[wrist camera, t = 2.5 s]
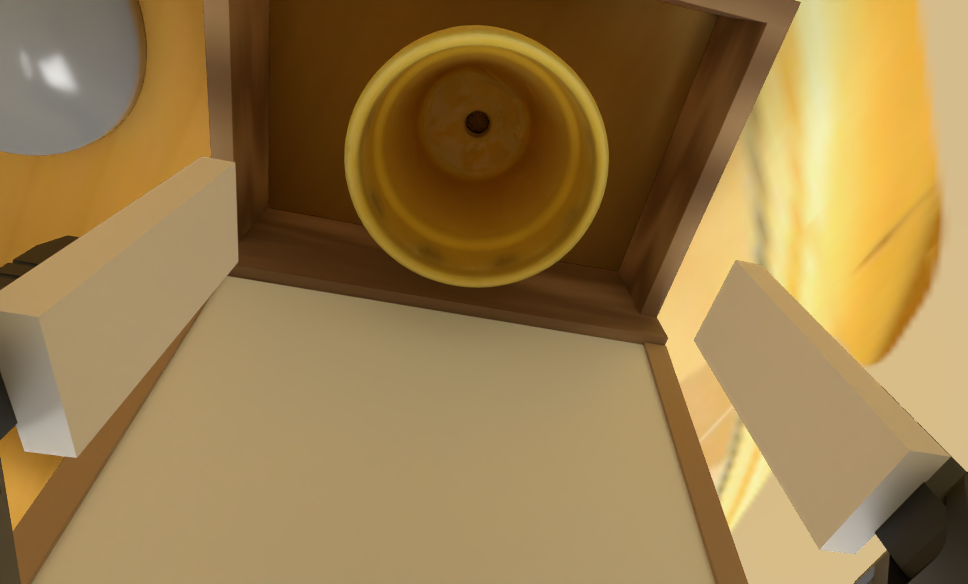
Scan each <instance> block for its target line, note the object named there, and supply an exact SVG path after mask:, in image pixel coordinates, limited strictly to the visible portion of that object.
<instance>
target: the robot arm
mask: <svg viewBox="0 0 968 584" xmlns="http://www.w3.org/2000/svg"><path fill="white" fill-rule="evenodd" d="M237 263H238V231H237V200H236V169H235V162H230V161H225V160H220V159H215V158H210V157H204V156H201V157H200V158H198V159H197V160H195V161H194V162H192V163H191V164H189V165H188V166H186V167H185V168H183V169H182V170H180V171H179V172H177V173H176V174H174V175H173V176H171V177H170V178H168V179H167V180H165V181H164V182H162V183H161V184H159V185H158V186H156V187H155V188H153V189H152V190H150V191H149V192H147V193H146V194H144V195H143V196H141V197H140V198H138V199H137V200H135V201H134V202H132V203H131V204H129V205H128V206H126V207H125V208H123V209H122V210H120V211H119V212H117V213H116V214H114V215H113V216H111V217H110V218H108V219H107V220H105V221H104V222H102V223H101V224H99V225H98V226H96V227H95V228H93V229H92V230H90V231H89V232H87V233H86V234H84V235H83V236H81V237H80V238H79V237H73V236H65V237H62V238H58V239H55V240H52V241H49V242H46V243H43V244H40V245H37V246H35V247H33V248H32V249H30V250H28V251H27V252H25V253H24V254H22V255H20V256H19V257H17V258H15V259H14V260H13V263H7V264H6V265H4V266H2V267H1V268H0V440H1V439H2V438H3V437H4V436H5V435H6V434H7V433H8V432H9V431H10V430H11V429H12V428H13V427H14V426H15V425H16V428H17V431H18V434H19V437H20V440H21V442H22V445H23V448H24V451H25V452H33V453H41V454H49V455H57V456H65V457H73V458H77V457H78V456H79V455H80V454H81V452H82V451H83V450H84V449H85V448H86V446H87V445H88V444H89V443H90V441H91V440H92V439H93V438H94V437H95V435H96V434H97V433H98V432H99V431H100V429H101V428H102V427H103V426H104V424H105V423H106V422H107V421H108V420H109V418H110V417H111V416H112V415H113V414H114V412H115V411H116V410H117V409H118V407H119V406H120V405H121V404H122V403H123V401H124V400H125V399H126V398H127V397H128V395H129V394H130V393H131V392H132V390H133V389H134V388H135V387H136V386H137V384H138V383H139V382H140V381H141V379H142V378H143V377H144V376H145V375H146V373H147V372H148V371H149V370H150V369H151V367H152V366H153V365H154V364H155V362H156V361H157V360H158V359H159V358H160V356H161V355H162V354H163V353H164V352H165V350H166V349H167V348H168V347H169V345H170V344H171V343H172V342H173V341H174V339H175V338H176V337H177V336H178V335H179V333H180V332H181V331H182V330H183V328H184V327H185V326H186V325H187V324H188V322H189V321H190V320H191V319H192V318H193V316H194V315H195V314H196V313H197V311H198V310H199V309H200V308H201V307H202V305H203V304H204V303H205V302H206V301H207V299H208V298H209V297H210V296H211V294H212V293H213V292H214V291H215V290H216V288H217V287H218V286H219V285H220V283H221V282H222V281H223V280H224V279H225V277H226V276H227V275H228V274H229V273H230V271H231V270H232V269H233V268H234V266H235V265H236V264H237ZM694 342H695V343H696V345H697V347H698V348H699V350H700V351H701V353H702V355H703V356H704V358H705V360H706V361H707V363H708V365H709V366H710V368H711V370H712V371H713V373H714V375H715V376H716V378H717V380H718V381H719V383H720V385H721V386H722V388H723V390H724V391H725V393H726V395H727V396H728V398H729V400H730V401H731V403H732V405H733V406H734V408H735V410H736V411H737V413H738V415H739V416H740V418H741V420H742V421H743V423H744V425H745V426H746V428H747V430H748V431H749V433H750V435H751V436H752V438H753V440H754V441H755V443H756V445H757V446H758V448H759V450H760V451H761V453H762V455H763V456H764V458H765V460H766V461H767V463H768V465H769V466H770V468H771V470H772V471H773V473H774V475H775V476H776V478H777V480H778V481H779V483H780V485H781V486H782V488H783V490H784V491H785V493H786V495H787V496H788V498H789V500H790V501H791V503H792V505H793V506H794V508H795V510H796V511H797V513H798V515H799V516H800V518H801V520H802V521H803V523H804V525H805V526H806V528H807V530H808V531H809V533H810V535H811V536H812V538H813V540H814V541H815V543H816V545H817V546H818V548H819V550H826V551H834V552H843V553H850V554H856V553H857V552H858V551H859V550H860V549H861V548H862V547H863V546H864V545H865V544H866V543H867V542H868V541H869V540H870V539H871V538H872V537H873V536H874V535H875V534H876V535H877V537H878V538H879V539H880V541H881V542H882V543H883V545H884V546H885V548H886V549H887V551H886V552H885V553H883V554H882V555H881V556H880V558H878V559H877V560H876V561H875V562H874V564H872V565H871V566H870V567H869V568H868V569H867V570H866V571H865V572H864V573H863V574H862V575H861V576H860V577H859V578H858V579H857V580H856V581H855V583H854V584H968V472H966V471H965V470H964V469H963V468H962V467H961V466H960V465H959V464H958V463H957V462H956V461H955V460H954V459H953V458H952V457H951V456H950V455H949V454H948V453H947V452H946V451H945V450H944V449H943V448H942V446H940V445H939V443H938V442H937V441H936V440H935V439H934V438H933V437H932V436H931V435H930V434H929V433H928V432H927V431H926V430H925V429H923V427H922V426H921V425H920V424H919V423H918V422H916V421H915V420H914V418H913V417H912V416H911V415H910V414H909V413H908V412H907V411H906V410H905V409H904V408H902V407H901V406H900V405H899V403H898V402H897V401H896V400H895V399H894V398H893V397H892V396H891V395H890V394H889V393H888V392H887V391H886V390H885V389H884V388H883V387H882V386H880V385H879V384H878V382H877V381H875V379H874V378H873V377H872V376H871V375H870V374H869V373H868V372H867V371H866V370H865V369H864V368H863V367H862V366H861V365H860V364H859V363H858V362H857V361H856V360H855V359H854V358H853V357H852V356H851V355H850V354H849V353H848V352H847V351H846V350H845V349H844V348H843V347H842V346H841V345H840V344H839V343H838V342H837V341H836V340H835V339H834V338H833V337H832V336H831V335H830V334H829V333H828V332H827V331H826V330H825V329H824V328H823V327H822V326H821V325H820V324H819V323H818V322H817V321H816V320H815V319H814V318H813V317H812V316H811V315H810V314H809V313H808V312H807V311H806V310H805V309H804V308H803V307H802V306H801V305H800V304H799V303H798V302H797V301H796V300H795V299H794V298H793V297H792V295H791V294H790V293H789V292H788V291H787V290H786V289H785V288H784V287H783V286H782V285H781V284H780V283H779V282H778V281H777V280H776V279H775V278H774V277H773V276H772V275H771V274H770V273H769V272H768V271H767V270H766V269H765V268H764V267H763V266H762V265H759V264H753V263H748V262H743V261H738V260H735V262H734V264H733V266H732V268H731V270H730V272H729V274H728V276H727V278H726V280H725V281H724V283H723V285H722V287H721V289H720V291H719V293H718V295H717V297H716V299H715V301H714V302H713V304H712V306H711V308H710V310H709V312H708V314H707V316H706V318H705V320H704V322H703V323H702V325H701V327H700V329H699V331H698V333H697V335H696V337H695V339H694ZM0 584H21V580H20V574H19V568H18V562H17V556H16V550H15V544H14V537H13V531H12V525H11V519H10V513H9V507H8V501H7V494H6V488H5V482H4V476H3V470H2V464H1V458H0Z"/></svg>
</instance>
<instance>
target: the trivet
mask: <svg viewBox="0 0 968 584" xmlns="http://www.w3.org/2000/svg"><path fill="white" fill-rule="evenodd" d="M146 60H147V52H146V36H145V30H144V24H143V18H142V14H141V11H140V7H139V4H138V0H0V151H3V152H8V153H14V154H22V155H53V154H61V153H65V152H68V151H72V150H75V149H78V148H81V147H83V146H85V145H88V144H90V143H92V142H94V141H96V140H99V139H101V138H103V137H105V136H106V135H108V134H109V133H110V132H112V131H113V130H115V129H116V128H117V127H118V126H119V125H120V124H121V123H122V122H123V121H124V120H125V119H126V118H127V116H128V115H129V113H130V112H131V110H132V109H133V107H134V106H135V104H136V102H137V99H138V97H139V95H140V92H141V89H142V85H143V81H144V77H145V70H146Z"/></svg>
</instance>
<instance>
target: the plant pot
mask: <svg viewBox="0 0 968 584" xmlns="http://www.w3.org/2000/svg"><path fill="white" fill-rule="evenodd" d="M475 111H481V112H483V113H485V114H486V115H487V116H488V118H489V127H488V128H487V130H486V131H484V132H483V133H480V134H475V133H473V132H471V131H470V130H469V129H468V128H467V126H466V118H467V116H468V115H469V114H470V113H472V112H475ZM344 164H345V175H346V180H347V185H348V189H349V193H350V196H351V199H352V202H353V205H354V208H355V210H356V212H357V214H358V216H359V218H360V220H361V221H362V223H363V225H364V227H365V228H366V229H367V231H368V232H369V234H370V235H371V237H372V238H373V239H374V240H375V241H376V242H377V244H378V245H379V246H380V247H381V248H382V249H383V250H384V251H385V252H386V253H387V254H389V255H390V256H391V257H392V258H393V259H395V260H396V261H397V262H398V263H400V264H401V265H403V266H405V267H406V268H408V269H409V270H411V271H413V272H415V273H417V274H419V275H421V276H423V277H426V278H428V279H431V280H434V281H437V282H441V283H445V284H449V285H454V286H461V287H476V288H480V287H494V286H501V285H506V284H510V283H514V282H518V281H521V280H523V279H526V278H528V277H531V276H533V275H535V274H538V273H540V272H541V271H543V270H545V269H547V268H548V267H550V266H552V265H553V264H555V263H556V262H557V261H558V260H560V259H561V258H562V257H563V256H565V255H566V254H567V253H568V252H569V251H570V250H571V249H572V248H573V247H574V246H575V245H576V244H577V242H578V241H579V240H580V239H581V237H582V236H583V235H584V233H585V232H586V231H587V229H588V228H589V226H590V224H591V223H592V221H593V219H594V217H595V215H596V213H597V211H598V209H599V206H600V204H601V201H602V198H603V195H604V192H605V188H606V183H607V177H608V166H609V149H608V140H607V134H606V129H605V126H604V122H603V119H602V116H601V113H600V111H599V108H598V106H597V104H596V102H595V100H594V98H593V96H592V95H591V93H590V91H589V90H588V88H587V87H586V85H585V84H584V83H583V81H582V80H581V79H580V77H579V76H578V75H577V74H576V73H575V71H574V70H573V69H572V68H571V67H570V66H569V65H568V64H567V63H566V62H564V61H563V60H562V59H561V58H560V57H559V56H558V55H556V54H555V53H554V52H552V51H551V50H549V49H548V48H546V47H545V46H543V45H542V44H540V43H538V42H537V41H535V40H533V39H531V38H529V37H527V36H524V35H522V34H520V33H517V32H514V31H511V30H507V29H503V28H499V27H493V26H484V25H466V26H457V27H451V28H447V29H443V30H439V31H436V32H433V33H431V34H428V35H426V36H423V37H421V38H419V39H418V40H416V41H414V42H412V43H410V44H409V45H407V46H406V47H404V48H403V49H401V50H400V51H399V52H397V53H396V54H395V55H394V56H393V57H391V58H390V59H389V60H388V61H387V62H386V63H385V64H384V65H383V66H382V67H381V68H380V69H379V70H378V71H377V72H376V73H375V75H374V76H373V77H372V78H371V80H370V81H369V82H368V84H367V85H366V87H365V89H364V90H363V92H362V93H361V95H360V97H359V99H358V101H357V103H356V105H355V107H354V110H353V112H352V115H351V118H350V121H349V125H348V129H347V134H346V139H345V151H344Z"/></svg>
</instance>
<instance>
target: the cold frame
mask: <svg viewBox="0 0 968 584" xmlns="http://www.w3.org/2000/svg"><path fill="white" fill-rule="evenodd" d="M658 1H662V2H666V3H670V4H674V5H678V6H681V7H685V8H689V9H693V10H697V11H701V12H705V13H709V14H713V15H717V16H719V17H718V20H717V22H716V25H715V27H714V30H713V32H712V35H711V37H710V40H709V42H708V45H707V48H706V50H705V53H704V55H703V58H702V60H701V63H700V65H699V68H698V71H697V73H696V76H695V78H694V81H693V83H692V86H691V88H690V91H689V93H688V96H687V99H686V101H685V104H684V106H683V109H682V111H681V114H680V116H679V119H678V121H677V124H676V127H675V129H674V132H673V134H672V137H671V139H670V142H669V144H668V147H667V150H666V152H665V155H664V157H663V160H662V162H661V165H660V167H659V170H658V172H657V175H656V178H655V180H654V183H653V185H652V188H651V190H650V193H649V195H648V198H647V200H646V203H645V206H644V208H643V211H642V213H641V216H640V218H639V221H638V223H637V226H636V228H635V231H634V234H633V236H632V239H631V241H630V244H629V246H628V249H627V251H626V254H625V257H624V259H623V262H622V264H621V267H620V269H619V272H615V271H610V270H604V269H599V268H593V267H588V266H582V265H577V264H571V263H566V262H560V261H557V262H556V263H555V264H553V265H552V266H550V267H548V268H547V269H545V270H543V271H541V272H540V273H538V274H535V275H533V276H531V277H528V278H526V279H523V280H521V281H518V282H514V283H510V284H506V285H501V286H494V287H480V288H476V287H461V286H454V285H449V284H445V283H441V282H437V281H434V280H431V279H428V278H426V277H423V276H421V275H419V274H417V273H415V272H413V271H411V270H409V269H408V268H406V267H405V266H403V265H401V264H400V263H398V262H397V261H396V260H395V259H393V258H392V257H391V256H390V255H389V254H387V253H386V252H385V251H384V250H383V249H382V248H381V247H380V246H379V245H378V244H377V242H376V241H375V240H374V239H373V238H372V237H371V235H370V234H369V232H368V231H367V229H366V228H365V227H364V225H359V224H353V223H348V222H342V221H337V220H331V219H326V218H320V217H315V216H310V215H304V214H299V213H293V212H288V211H282V210H277V209H271V208H268V162H269V0H203V9H204V28H205V48H206V67H207V86H208V106H209V125H210V145H211V158H215V159H220V160H225V161H230V162H235V169H236V200H237V231H238V263H237V264H236V265H235V266H234V268H233V269H232V270H231V271H230V273H229V274H228V275H227V276H231V277H237V278H243V279H249V280H255V281H261V282H267V283H273V284H279V285H285V286H291V287H297V288H303V289H309V290H315V291H321V292H327V293H333V294H339V295H345V296H352V297H358V298H364V299H370V300H376V301H382V302H388V303H394V304H400V305H406V306H412V307H418V308H424V309H430V310H436V311H442V312H448V313H454V314H460V315H466V316H472V317H478V318H484V319H490V320H496V321H503V322H509V323H515V324H521V325H527V326H533V327H539V328H545V329H551V330H557V331H563V332H569V333H575V334H581V335H587V336H593V337H599V338H605V339H611V340H617V341H623V342H629V343H635V344H641V345H644V343H645V342H646V343H652V344H658V345H664V346H665V344H666V342H667V340H668V337H667V335H666V333H665V332H664V330H663V328H662V326H661V324H660V323H659V321H658V319H657V316H658V313H659V311H660V309H661V307H662V305H663V302H664V300H665V298H666V296H667V294H668V291H669V289H670V287H671V285H672V283H673V281H674V278H675V276H676V274H677V272H678V270H679V267H680V265H681V263H682V261H683V259H684V257H685V254H686V252H687V250H688V248H689V246H690V243H691V241H692V239H693V237H694V235H695V232H696V230H697V228H698V226H699V224H700V222H701V219H702V217H703V215H704V213H705V211H706V208H707V206H708V204H709V202H710V200H711V198H712V195H713V193H714V191H715V189H716V187H717V184H718V182H719V180H720V178H721V176H722V174H723V171H724V169H725V167H726V165H727V163H728V160H729V158H730V156H731V154H732V152H733V149H734V147H735V145H736V143H737V141H738V139H739V136H740V134H741V132H742V130H743V128H744V125H745V123H746V121H747V119H748V117H749V115H750V112H751V110H752V108H753V106H754V104H755V101H756V99H757V97H758V95H759V93H760V90H761V88H762V86H763V84H764V82H765V80H766V77H767V75H768V73H769V71H770V69H771V66H772V64H773V62H774V60H775V58H776V56H777V53H778V51H779V49H780V47H781V45H782V42H783V40H784V38H785V36H786V34H787V32H788V29H789V27H790V25H791V23H792V21H793V18H794V16H795V14H796V12H797V10H798V7H799V5H800V3H801V2H799V1H795V0H658Z"/></svg>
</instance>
